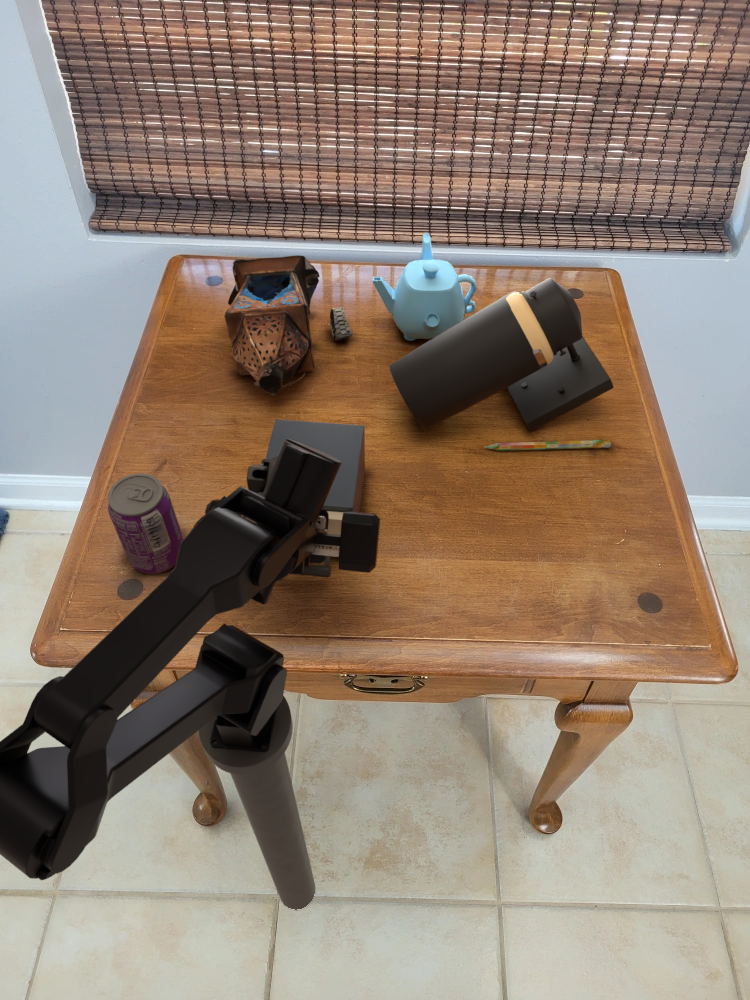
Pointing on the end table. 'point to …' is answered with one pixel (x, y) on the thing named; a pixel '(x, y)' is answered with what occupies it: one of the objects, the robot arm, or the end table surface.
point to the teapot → (427, 296)
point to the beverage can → (145, 522)
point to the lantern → (272, 319)
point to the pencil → (550, 445)
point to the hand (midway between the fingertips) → (304, 526)
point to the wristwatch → (339, 324)
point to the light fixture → (506, 360)
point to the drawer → (333, 529)
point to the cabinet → (337, 443)
